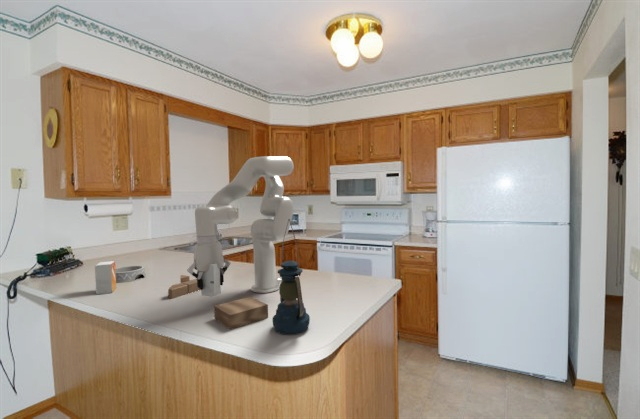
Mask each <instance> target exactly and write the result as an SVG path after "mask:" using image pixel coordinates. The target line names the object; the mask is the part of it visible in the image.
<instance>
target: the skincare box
mask: <svg viewBox="0 0 640 419" xmlns="http://www.w3.org/2000/svg"><path fill="white" fill-rule="evenodd" d="M201 279H202V280H203V290H200V293H201V295H200V296H203V297H209V298H214V297H217V296H219V295H220V294H221V291H222V288H221V285H220V269H218V267H217V264H211V265H210V266H209V270H208V271H204V272H203V274H202V276H201Z"/></svg>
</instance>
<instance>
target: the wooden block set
mask: <svg viewBox="0 0 640 419" xmlns="http://www.w3.org/2000/svg"><path fill="white" fill-rule="evenodd" d="M179 279H180V281H179V282H180V283H176V284H173V285H171V286H170V287H169V288H168V298H169V299H174V298H175V299H176V298H179V297H181V295H182V296H185V295H188V293H189V294H192V292H193V293H195V291H196V292H199V291H201V289H199V288H198V286H197V278H194V279H190V276H189V275H184V274H181V275H180V276H179ZM198 290H199V291H198ZM178 296H179V297H178Z"/></svg>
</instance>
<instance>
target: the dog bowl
mask: <svg viewBox="0 0 640 419" xmlns="http://www.w3.org/2000/svg"><path fill="white" fill-rule="evenodd" d="M115 269H116V284H122V283H123V284H124V283H130V282H135V279H138V278H140V277H141V276H142V275H143V277H144V278H147V273H146V271H145V267H144V266H143V265H127V266H120V267H115Z"/></svg>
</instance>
